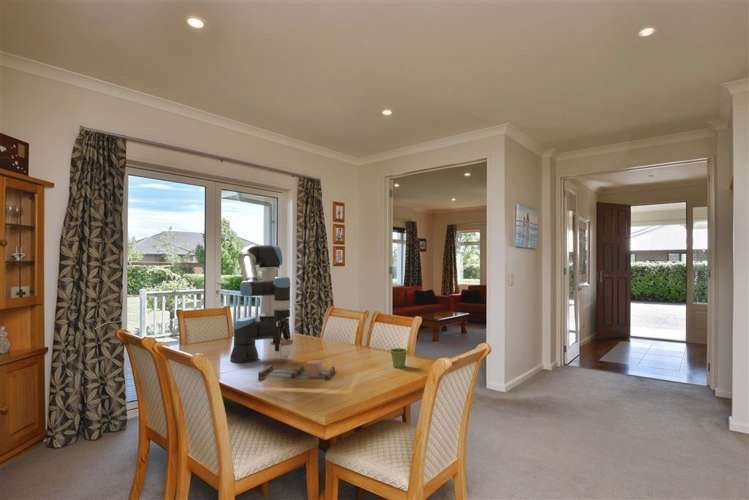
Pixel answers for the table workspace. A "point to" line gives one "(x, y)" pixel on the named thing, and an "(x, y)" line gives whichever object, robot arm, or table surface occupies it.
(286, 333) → the robot arm
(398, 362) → the plant pot
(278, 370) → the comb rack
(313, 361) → the terracotta block
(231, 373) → the table surface
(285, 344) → the lidded jar
